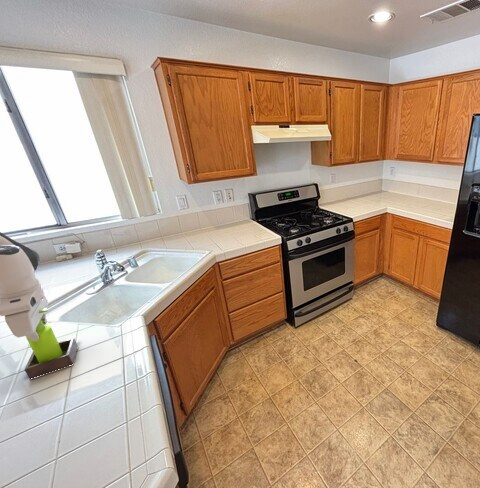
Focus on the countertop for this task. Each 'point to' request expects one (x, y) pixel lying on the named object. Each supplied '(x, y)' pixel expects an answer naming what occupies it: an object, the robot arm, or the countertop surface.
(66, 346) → the tray
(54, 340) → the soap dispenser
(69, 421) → the countertop surface
